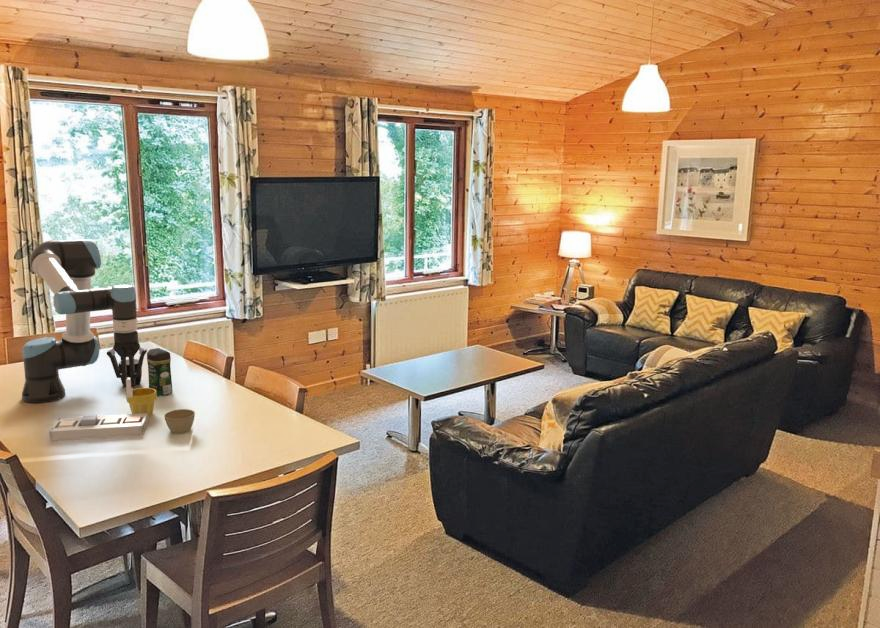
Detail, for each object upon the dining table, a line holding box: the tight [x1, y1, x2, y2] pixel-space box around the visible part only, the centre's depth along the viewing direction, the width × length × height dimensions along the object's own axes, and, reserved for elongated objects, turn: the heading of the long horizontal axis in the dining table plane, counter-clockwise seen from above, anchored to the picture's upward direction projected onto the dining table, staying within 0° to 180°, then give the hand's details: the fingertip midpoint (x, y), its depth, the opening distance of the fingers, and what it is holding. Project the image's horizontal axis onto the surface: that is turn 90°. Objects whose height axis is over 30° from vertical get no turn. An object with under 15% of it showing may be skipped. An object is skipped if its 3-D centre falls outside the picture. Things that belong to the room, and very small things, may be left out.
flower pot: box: [163, 408, 196, 435], centre depth 248 cm, size 10×10×7 cm
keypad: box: [48, 413, 149, 442], centre depth 246 cm, size 29×13×4 cm, turn 105°
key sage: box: [103, 418, 120, 425], centre depth 247 cm, size 4×4×2 cm
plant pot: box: [126, 387, 158, 417], centre depth 263 cm, size 10×10×10 cm
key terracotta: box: [125, 416, 141, 423], centre depth 248 cm, size 4×4×2 cm
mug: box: [118, 358, 143, 387], centre depth 301 cm, size 12×9×10 cm
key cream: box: [58, 420, 76, 428], centre depth 243 cm, size 4×4×2 cm
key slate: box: [80, 414, 98, 426], centre depth 245 cm, size 4×4×2 cm
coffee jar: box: [146, 347, 174, 397], centre depth 289 cm, size 10×8×19 cm
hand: (129, 396), depth 247 cm, fingers closed
